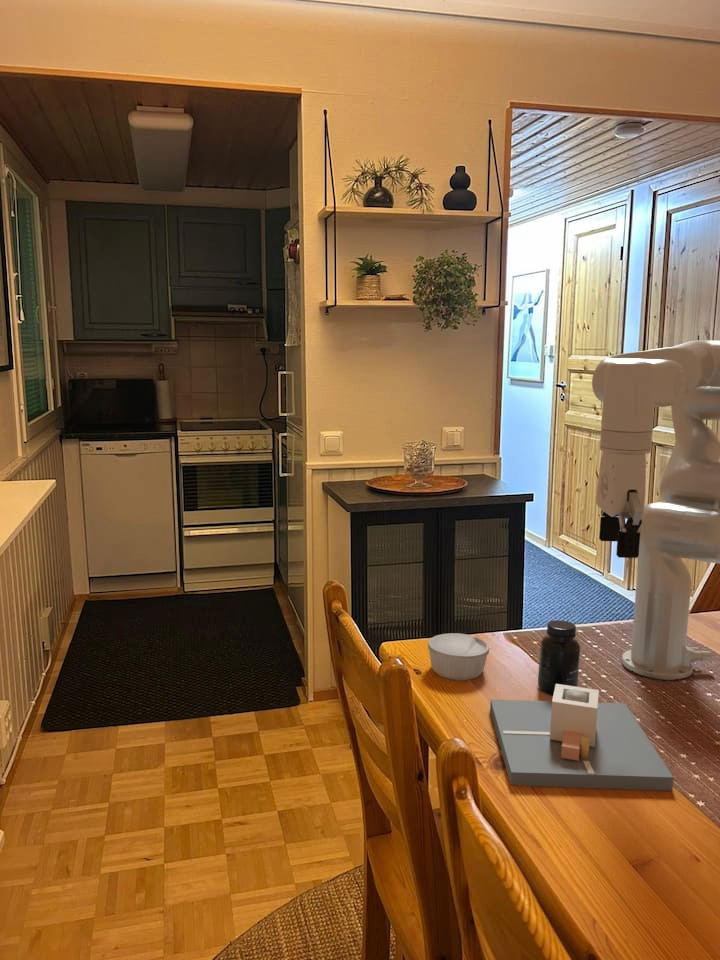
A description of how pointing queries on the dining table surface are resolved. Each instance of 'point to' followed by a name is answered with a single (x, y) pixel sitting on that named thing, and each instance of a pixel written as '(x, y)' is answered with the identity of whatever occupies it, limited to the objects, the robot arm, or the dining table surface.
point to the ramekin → (458, 655)
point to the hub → (573, 720)
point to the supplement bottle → (558, 657)
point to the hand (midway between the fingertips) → (617, 548)
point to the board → (608, 765)
